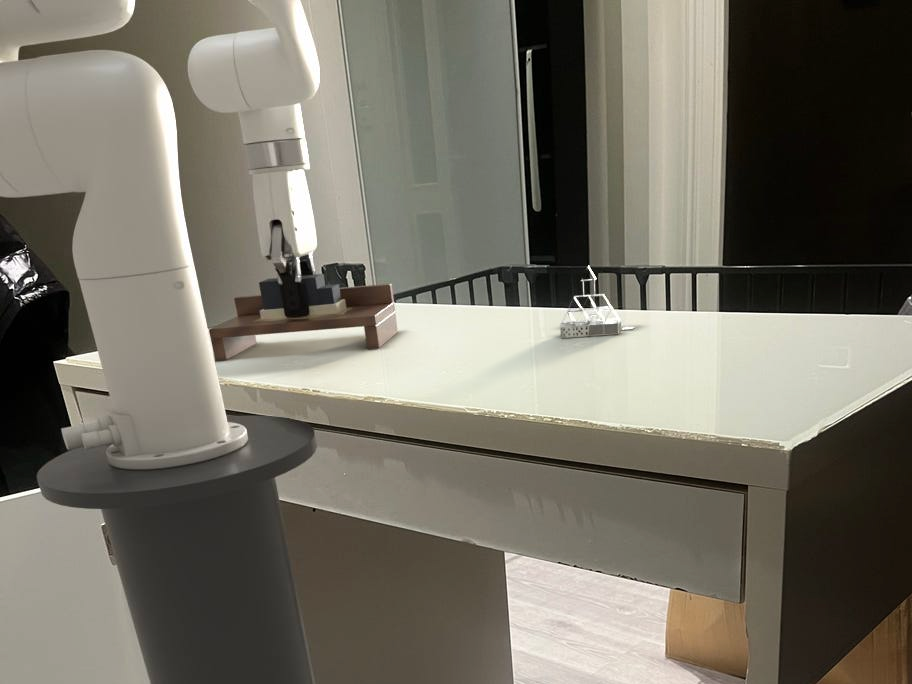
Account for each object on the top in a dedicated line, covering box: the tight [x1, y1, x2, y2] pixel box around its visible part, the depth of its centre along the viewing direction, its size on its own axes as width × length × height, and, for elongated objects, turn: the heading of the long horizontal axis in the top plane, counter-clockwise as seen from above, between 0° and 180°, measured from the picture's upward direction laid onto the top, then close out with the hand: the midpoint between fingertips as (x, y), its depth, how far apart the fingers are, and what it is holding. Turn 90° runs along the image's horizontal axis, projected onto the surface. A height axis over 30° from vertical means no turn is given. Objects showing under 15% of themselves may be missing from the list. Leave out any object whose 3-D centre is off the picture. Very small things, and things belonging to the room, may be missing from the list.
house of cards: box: [559, 265, 635, 339], centre depth 116 cm, size 9×9×8 cm
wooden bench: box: [208, 283, 399, 362], centre depth 126 cm, size 22×12×6 cm, turn 83°
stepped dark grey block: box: [258, 273, 346, 320], centre depth 125 cm, size 10×5×5 cm, turn 83°
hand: (303, 311), depth 126 cm, fingers closed on stepped dark grey block, 4 cm apart
